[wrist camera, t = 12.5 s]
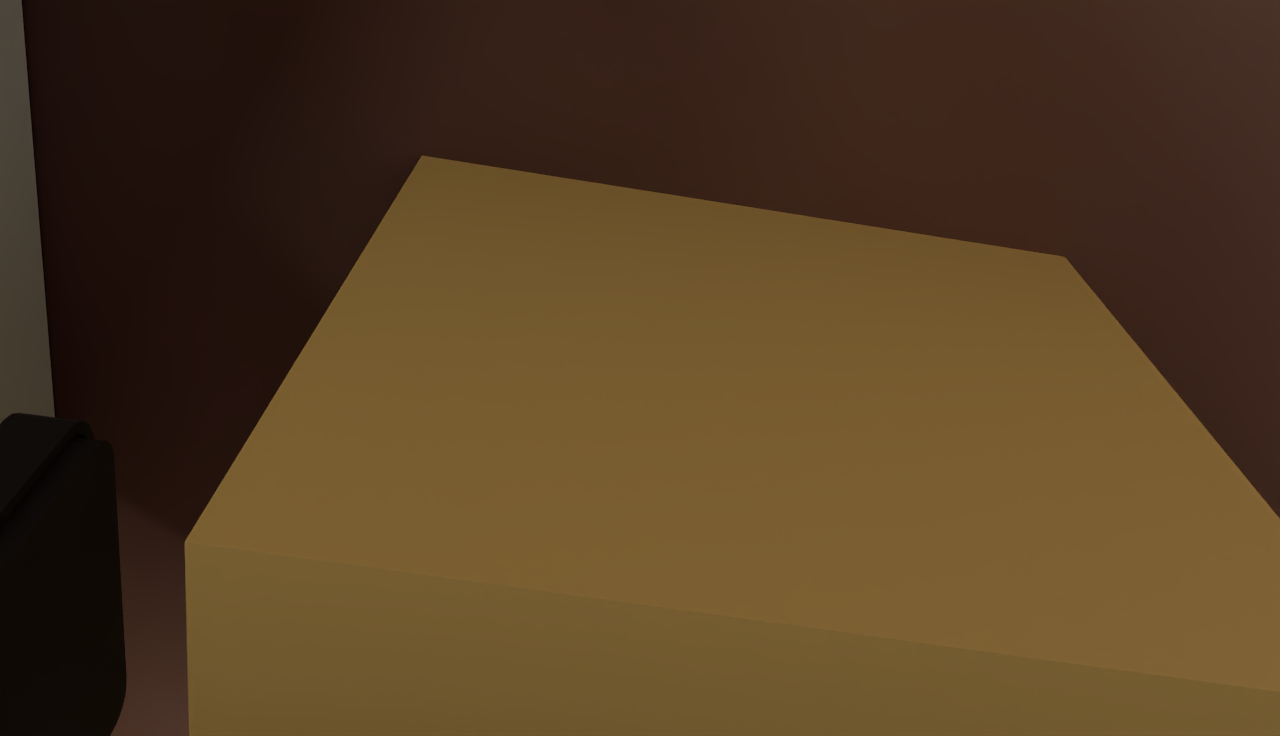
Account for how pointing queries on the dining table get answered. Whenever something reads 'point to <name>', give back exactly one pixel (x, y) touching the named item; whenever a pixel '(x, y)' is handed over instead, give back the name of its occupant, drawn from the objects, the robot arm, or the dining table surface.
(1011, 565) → the mustard block
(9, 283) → the base
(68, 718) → the robot arm
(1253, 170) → the dining table surface
